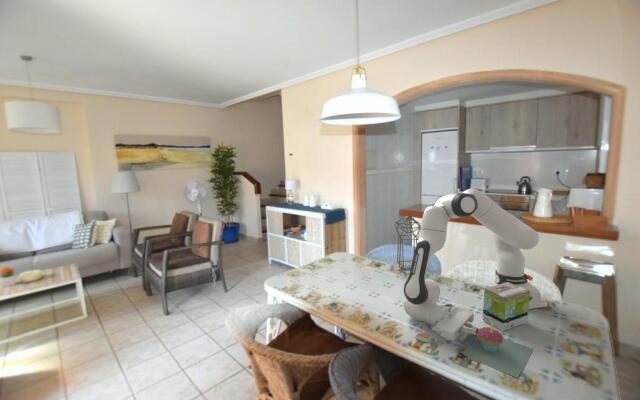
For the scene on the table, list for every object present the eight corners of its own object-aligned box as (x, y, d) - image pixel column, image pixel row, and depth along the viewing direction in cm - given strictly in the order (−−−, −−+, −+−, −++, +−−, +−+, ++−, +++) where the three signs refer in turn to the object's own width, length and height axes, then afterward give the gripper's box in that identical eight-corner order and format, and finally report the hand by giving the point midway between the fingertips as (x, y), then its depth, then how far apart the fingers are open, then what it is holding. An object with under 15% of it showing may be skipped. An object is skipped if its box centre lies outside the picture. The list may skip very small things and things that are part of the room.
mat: (474, 328, 123) (474, 327, 123) (533, 349, 108) (533, 348, 108) (454, 351, 109) (454, 350, 109) (517, 379, 95) (517, 377, 95)
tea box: (504, 332, 119) (506, 297, 117) (481, 320, 128) (483, 287, 126) (528, 322, 125) (530, 289, 123) (505, 311, 134) (506, 280, 132)
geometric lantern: (398, 276, 177) (397, 218, 173) (394, 267, 193) (393, 214, 188) (425, 276, 175) (425, 217, 171) (419, 267, 191) (418, 213, 187)
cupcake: (508, 354, 106) (509, 323, 104) (484, 355, 106) (484, 324, 104) (494, 340, 114) (495, 310, 113) (472, 341, 114) (472, 311, 113)
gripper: (429, 320, 115) (466, 335, 105) (452, 301, 128) (487, 313, 118) (428, 335, 116) (465, 351, 106) (451, 315, 129) (486, 327, 119)
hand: (477, 331), depth 112 cm, fingers closed
